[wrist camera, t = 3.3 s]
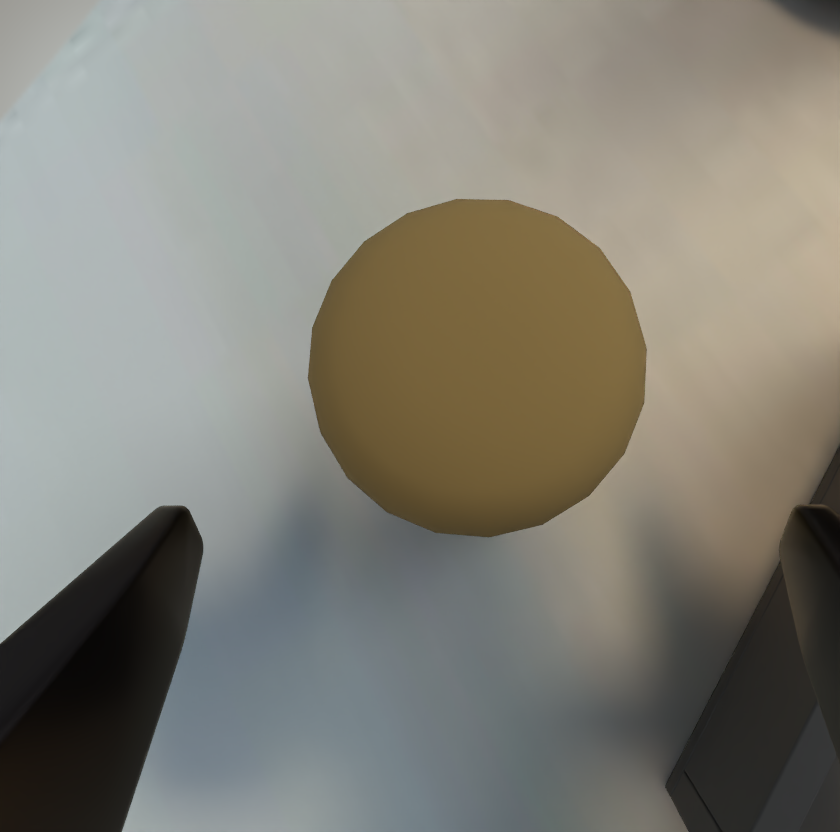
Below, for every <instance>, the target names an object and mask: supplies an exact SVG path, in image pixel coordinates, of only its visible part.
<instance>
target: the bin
mask: <svg viewBox="0 0 840 832" xmlns="http://www.w3.org/2000/svg"><path fill="white" fill-rule="evenodd" d="M810 505H826V506H829V507H831V508H832V509H834V510H835V511H836V512H837V513H838V514H840V447H839V449H838V451H837V453H836V455H835V457H834V459H833V461H832V463H831V464H830V466H829V468H828V470H827V472H826V474H825V476H824V478H823V480H822V482H821V484H820V486H819V488H818V490H817V492H816V494H815V496H814V498H813V500H812V501H811V503H810ZM666 789H667V791H668V793H669V795H670V797H671V799H672V800H673V802H674V804H675V806H676V808H677V810H678V812H679V814H680V816H681V818H682V820H683V822H684V824H685V826H686V827H687V829H688V831H689V832H840V763H839V760H838V757H837V755H836V752H835V749H834V746H833V743H832V740H831V738H830V735H829V732H828V729H827V726H826V723H825V721H824V718H823V715H822V712H821V709H820V706H819V704H818V701H817V698H816V695H815V692H814V689H813V687H812V684H811V681H810V678H809V675H808V672H807V669H806V666H805V663H804V660H803V657H802V653H801V649H800V645H799V641H798V636H797V632H796V627H795V623H794V618H793V614H792V609H791V605H790V601H789V596H788V592H787V587H786V583H785V578H784V574H783V569H782V565H781V562H780V564H779V566H778V568H777V570H776V572H775V574H774V576H773V577H772V579H771V581H770V583H769V585H768V587H767V589H766V591H765V593H764V595H763V597H762V599H761V601H760V603H759V605H758V607H757V609H756V611H755V613H754V614H753V616H752V618H751V620H750V622H749V624H748V626H747V628H746V630H745V632H744V634H743V636H742V638H741V640H740V642H739V644H738V646H737V648H736V650H735V651H734V653H733V655H732V657H731V659H730V661H729V663H728V665H727V667H726V669H725V671H724V673H723V675H722V677H721V679H720V681H719V683H718V685H717V687H716V689H715V690H714V692H713V694H712V696H711V698H710V700H709V702H708V704H707V706H706V708H705V710H704V712H703V714H702V716H701V718H700V720H699V722H698V724H697V726H696V727H695V729H694V731H693V733H692V735H691V737H690V739H689V741H688V743H687V745H686V747H685V749H684V751H683V753H682V755H681V757H680V759H679V761H678V763H677V764H676V766H675V768H674V770H673V772H672V774H671V776H670V778H669V780H668V782H667V784H666Z"/></svg>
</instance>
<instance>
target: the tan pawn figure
mask: <svg viewBox="0 0 840 832" xmlns="http://www.w3.org/2000/svg"><path fill="white" fill-rule="evenodd" d="M646 351H647V349H646V345H645V341H644V338H643V334H642V331H641V328H640V324H639V321H638V317H637V314H636V310H635V307H634V303H633V300H632V297H631V293H630V291H629V289H628V288H627V286H626V285H625V284H624V282H623V281H622V279H621V278H620V276H619V275H618V274H617V272H616V271H615V269H614V268H613V266H612V265H611V264H610V262H609V261H608V259H607V258H606V256H605V255H604V254H603V252H602V251H601V249H600V248H599V247H597V246H596V245H595V244H593V243H592V242H591V241H589V240H588V239H587V238H585V237H584V236H583V235H581V234H580V233H579V232H577V231H576V230H575V229H573V228H572V227H571V226H569V225H568V224H567V223H565V222H564V221H563V220H561V219H560V218H559V217H557V216H554V215H551V214H548V213H545V212H542V211H539V210H536V209H533V208H530V207H527V206H524V205H521V204H518V203H515V202H512V201H509V200H473V199H455V200H452V201H449V202H445V203H442V204H438V205H435V206H431V207H428V208H424V209H421V210H418V211H414V212H411V213H407V214H406V215H404V216H403V217H401V218H399V219H398V220H396V221H395V222H393V223H392V224H390V225H389V226H387V227H386V228H384V229H383V230H381V231H380V232H378V233H377V234H375V235H374V236H372V237H371V238H369V239H367V240H366V241H364V242H363V244H362V245H361V246H360V247H359V249H358V250H357V251H356V252H355V253H354V255H353V256H352V257H351V258H350V259H349V261H348V262H347V263H346V264H345V265H344V267H343V268H342V269H341V270H340V271H339V273H338V274H337V275H336V276H335V277H334V279H333V280H332V281H331V284H330V286H329V289H328V291H327V293H326V296H325V298H324V301H323V303H322V306H321V308H320V310H319V313H318V315H317V318H316V320H315V323H314V325H313V327H312V338H311V350H310V361H309V373H308V380H309V385H310V389H311V393H312V398H313V402H314V407H315V411H316V415H317V420H318V424H319V428H320V432H321V434H322V436H323V438H324V439H325V441H326V443H327V444H328V446H329V448H330V449H331V451H332V453H333V454H334V456H335V458H336V459H337V461H338V463H339V464H340V466H341V468H342V469H343V471H344V473H345V474H346V476H347V478H348V479H349V480H351V481H352V482H353V483H354V484H355V485H356V486H357V487H359V488H360V489H361V490H362V491H363V492H364V493H365V494H367V495H368V496H369V497H370V498H371V499H372V500H374V501H375V502H376V503H377V504H378V505H379V506H380V507H382V508H383V509H384V510H385V511H386V512H388V513H390V514H393V515H395V516H397V517H400V518H402V519H404V520H407V521H409V522H411V523H414V524H416V525H419V526H421V527H423V528H426V529H428V530H430V531H433V532H435V533H445V534H457V535H469V536H481V537H492V536H497V535H501V534H505V533H509V532H513V531H518V530H522V529H526V528H530V527H534V526H538V525H543V524H544V523H546V522H547V521H549V520H551V519H552V518H554V517H555V516H557V515H559V514H560V513H562V512H564V511H565V510H567V509H568V508H570V507H572V506H573V505H575V504H577V503H578V502H580V501H581V500H583V499H585V498H586V497H588V496H589V495H590V494H591V493H592V492H593V491H594V489H595V488H596V487H597V486H598V485H599V483H600V482H601V481H602V480H603V479H604V477H605V476H606V475H607V474H608V473H609V471H610V470H611V469H612V468H613V467H614V465H615V464H616V463H617V462H618V461H619V459H620V458H621V457H622V456H623V455H624V453H625V451H626V448H627V446H628V443H629V440H630V438H631V435H632V433H633V430H634V428H635V425H636V423H637V420H638V417H639V415H640V412H641V410H642V407H643V405H644V395H645V373H646Z"/></svg>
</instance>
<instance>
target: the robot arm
mask: <svg viewBox="0 0 840 832" xmlns="http://www.w3.org/2000/svg"><path fill="white" fill-rule="evenodd" d="M779 554H780V560H781V565H782V569H783V574H784V578H785V583H786V587H787V592H788V596H789V601H790V605H791V609H792V614H793V618H794V623H795V627H796V632H797V636H798V641H799V645H800V649H801V653H802V657H803V660H804V663H805V666H806V669H807V672H808V675H809V678H810V681H811V684H812V687H813V689H814V692H815V695H816V698H817V701H818V704H819V706H820V709H821V712H822V715H823V718H824V721H825V723H826V726H827V729H828V732H829V735H830V738H831V740H832V743H833V746H834V749H835V752H836V755H837V757H838V760H839V763H840V514H838V513H837V512H836V511H835V510H834V509H832V508H831V507H829V506H826V505H797V506H796V507H795V508H793V510H792V512H791V514H790V517H789V520H788V522H787V525H786V528H785V530H784V533H783V535H782V538H781V541H780V546H779ZM202 555H203V541H202V537H201V535H200V533H199V531H198V528H197V526H196V524H195V522H194V520H193V518H192V515H191V513H190V511H189V510H188V509H187V508H186V507H185V506H160V507H158V508H157V509H155V510H154V511H153V512H152V513H150V514H149V515H148V516H147V517H146V518H145V519H144V520H142V521H141V522H140V523H139V524H138V525H137V526H135V527H134V528H133V529H132V530H131V531H130V532H129V533H127V534H126V535H125V536H124V537H123V538H122V539H120V540H119V541H118V542H117V543H116V544H115V545H114V546H112V547H111V548H110V549H109V550H108V551H107V552H105V553H104V554H103V555H102V556H101V557H100V558H99V559H97V560H96V561H95V562H94V563H93V564H92V565H90V566H89V567H88V568H87V569H86V570H85V571H84V572H82V573H81V574H80V575H79V576H78V577H77V578H76V579H74V580H73V581H72V582H71V583H70V584H69V585H67V586H66V587H65V588H64V589H63V590H62V591H61V592H59V593H58V594H57V595H56V596H55V597H54V598H52V599H51V600H50V601H49V602H48V603H47V604H46V605H44V606H43V607H42V608H41V609H40V610H39V611H37V612H36V613H35V614H34V615H33V616H32V617H31V618H29V619H28V620H27V621H26V622H25V623H24V624H22V625H21V626H20V627H19V628H18V629H17V630H16V631H14V632H13V633H12V634H11V635H10V636H9V637H8V638H6V639H5V640H4V641H3V642H2V643H1V644H0V832H122V829H123V826H124V823H125V820H126V817H127V814H128V811H129V808H130V805H131V802H132V799H133V796H134V793H135V790H136V787H137V784H138V781H139V778H140V775H141V772H142V768H143V765H144V762H145V759H146V756H147V753H148V750H149V747H150V744H151V741H152V738H153V735H154V732H155V729H156V726H157V723H158V720H159V717H160V714H161V711H162V708H163V705H164V702H165V699H166V696H167V693H168V690H169V687H170V684H171V681H172V678H173V675H174V672H175V668H176V665H177V662H178V659H179V656H180V653H181V650H182V646H183V643H184V639H185V635H186V631H187V627H188V622H189V617H190V612H191V608H192V603H193V598H194V593H195V589H196V584H197V579H198V574H199V570H200V565H201V560H202Z"/></svg>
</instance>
